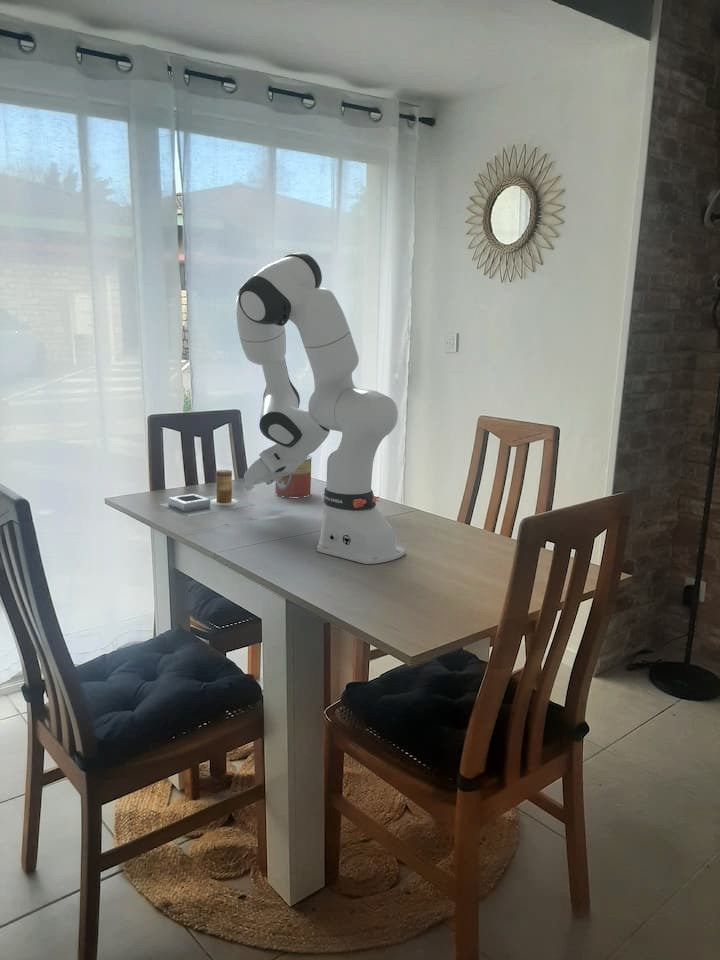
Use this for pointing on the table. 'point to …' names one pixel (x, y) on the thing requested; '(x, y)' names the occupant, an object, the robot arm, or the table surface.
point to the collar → (189, 502)
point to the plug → (224, 486)
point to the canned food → (296, 481)
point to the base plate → (214, 506)
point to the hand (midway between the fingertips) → (257, 485)
